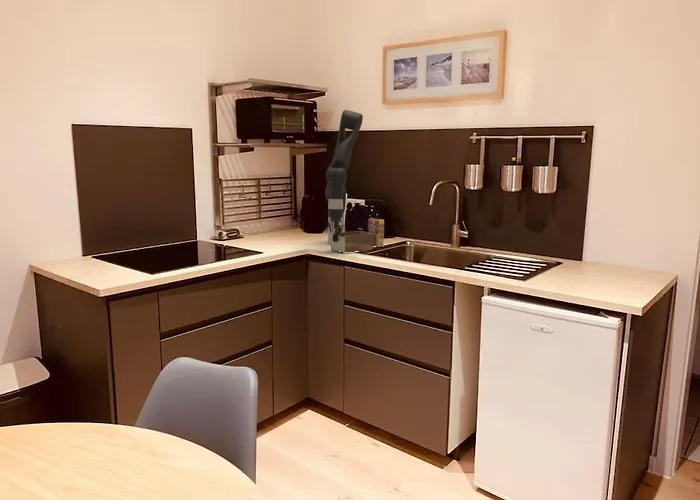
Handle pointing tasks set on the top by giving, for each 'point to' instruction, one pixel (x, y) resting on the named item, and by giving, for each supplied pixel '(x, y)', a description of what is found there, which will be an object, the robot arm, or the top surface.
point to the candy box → (376, 231)
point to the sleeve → (357, 241)
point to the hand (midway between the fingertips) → (334, 241)
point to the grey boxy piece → (338, 244)
